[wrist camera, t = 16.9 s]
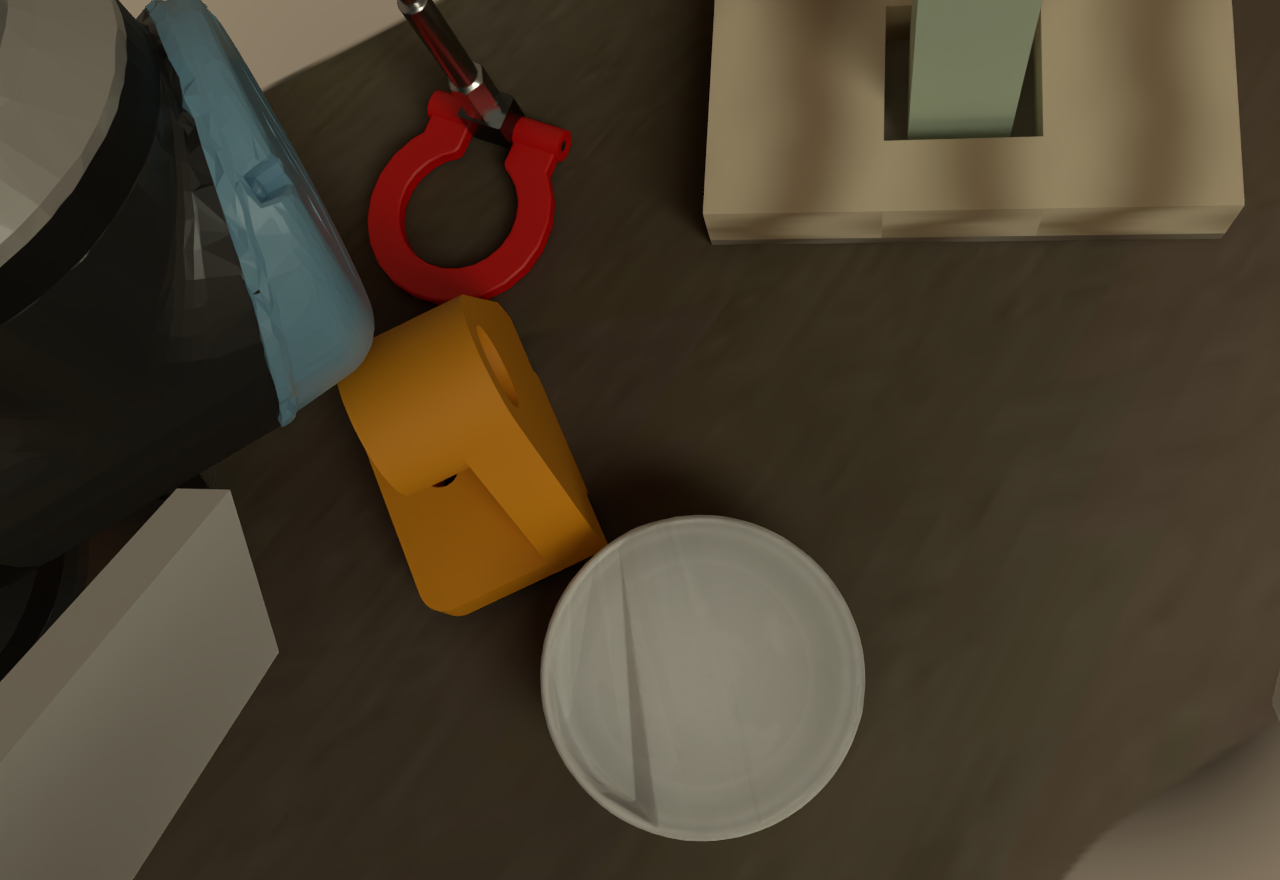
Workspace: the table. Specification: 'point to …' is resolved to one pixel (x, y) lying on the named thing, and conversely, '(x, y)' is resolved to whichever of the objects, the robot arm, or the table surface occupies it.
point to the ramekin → (702, 677)
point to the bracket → (469, 456)
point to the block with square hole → (973, 167)
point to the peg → (967, 66)
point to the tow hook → (447, 139)
